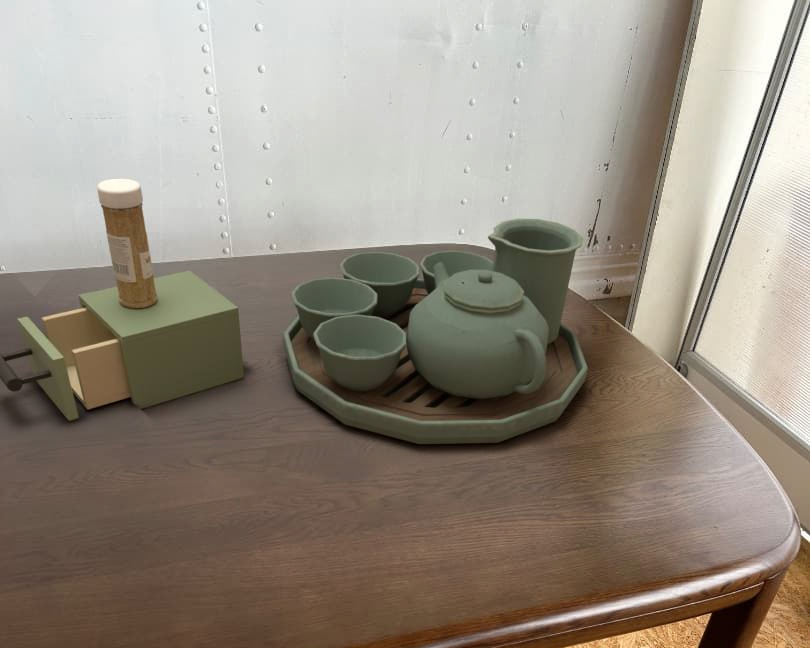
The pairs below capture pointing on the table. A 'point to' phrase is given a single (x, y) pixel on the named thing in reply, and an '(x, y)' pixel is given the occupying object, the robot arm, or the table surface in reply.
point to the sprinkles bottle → (128, 241)
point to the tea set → (443, 339)
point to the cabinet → (173, 338)
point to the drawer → (71, 361)
